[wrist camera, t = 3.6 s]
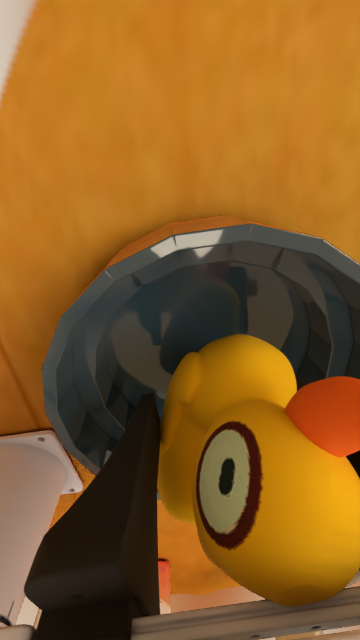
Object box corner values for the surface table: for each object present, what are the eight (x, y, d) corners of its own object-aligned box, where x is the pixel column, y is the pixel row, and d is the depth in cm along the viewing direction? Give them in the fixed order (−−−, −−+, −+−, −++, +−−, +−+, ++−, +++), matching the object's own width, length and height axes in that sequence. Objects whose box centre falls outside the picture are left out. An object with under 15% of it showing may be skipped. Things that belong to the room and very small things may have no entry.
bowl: (115, 449, 20) (101, 518, 16) (34, 241, 13) (-36, 264, 8) (315, 421, 20) (357, 483, 16) (357, 195, 13) (462, 193, 8)
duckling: (233, 261, 12) (421, 445, 3) (311, 308, 13) (591, 526, 5) (136, 407, 16) (99, 660, 7) (202, 431, 18) (238, 668, 9)
